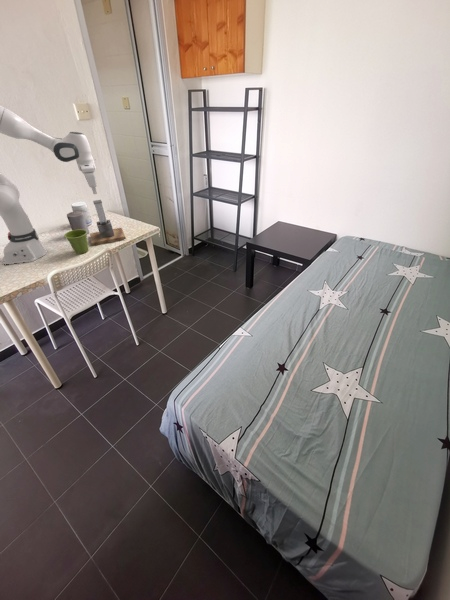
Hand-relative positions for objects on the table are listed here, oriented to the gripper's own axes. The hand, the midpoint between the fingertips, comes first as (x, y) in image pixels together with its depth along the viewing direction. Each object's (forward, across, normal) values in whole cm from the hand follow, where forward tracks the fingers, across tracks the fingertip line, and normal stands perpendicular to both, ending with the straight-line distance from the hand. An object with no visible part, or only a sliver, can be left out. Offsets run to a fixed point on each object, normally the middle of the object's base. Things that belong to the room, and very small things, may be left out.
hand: (94, 191), depth 163 cm
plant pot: (+29, +13, -16) cm, 35 cm away
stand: (+29, 0, 0) cm, 29 cm away
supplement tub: (+29, -32, -12) cm, 45 cm away
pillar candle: (+29, -15, -15) cm, 36 cm away
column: (+26, 0, 0) cm, 26 cm away
